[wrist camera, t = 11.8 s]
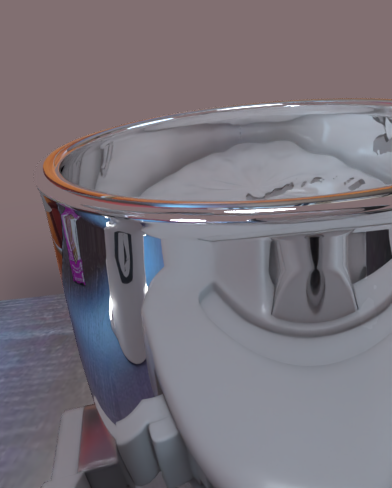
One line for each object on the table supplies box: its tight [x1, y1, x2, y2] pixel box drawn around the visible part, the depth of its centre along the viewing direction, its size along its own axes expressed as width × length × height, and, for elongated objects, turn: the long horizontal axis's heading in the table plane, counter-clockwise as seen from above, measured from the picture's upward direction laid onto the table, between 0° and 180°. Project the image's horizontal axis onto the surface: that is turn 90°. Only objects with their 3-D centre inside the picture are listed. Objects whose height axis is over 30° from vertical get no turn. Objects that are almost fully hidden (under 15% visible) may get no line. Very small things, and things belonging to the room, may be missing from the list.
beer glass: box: [34, 98, 392, 488], centre depth 9 cm, size 7×7×15 cm
